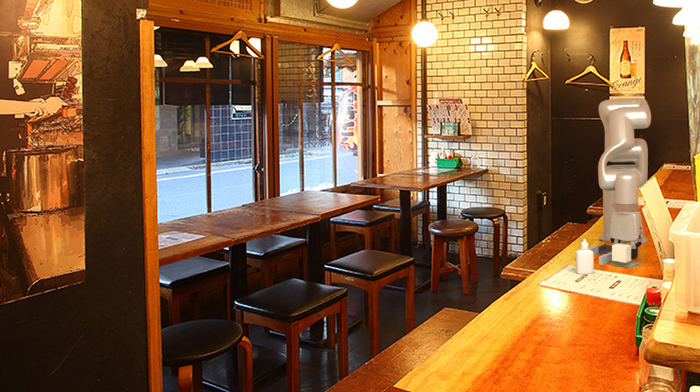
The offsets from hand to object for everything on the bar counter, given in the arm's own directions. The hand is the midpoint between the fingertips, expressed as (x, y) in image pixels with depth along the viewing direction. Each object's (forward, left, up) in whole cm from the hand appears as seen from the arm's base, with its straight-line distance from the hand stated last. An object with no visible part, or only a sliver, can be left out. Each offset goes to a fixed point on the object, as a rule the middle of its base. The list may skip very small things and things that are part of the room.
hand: (626, 257), depth 213 cm
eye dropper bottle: (+19, -5, -3) cm, 20 cm away
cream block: (+2, 0, 0) cm, 2 cm away
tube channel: (-1, -11, -3) cm, 11 cm away
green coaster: (0, 0, -3) cm, 3 cm away
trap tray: (-11, -11, -3) cm, 16 cm away
